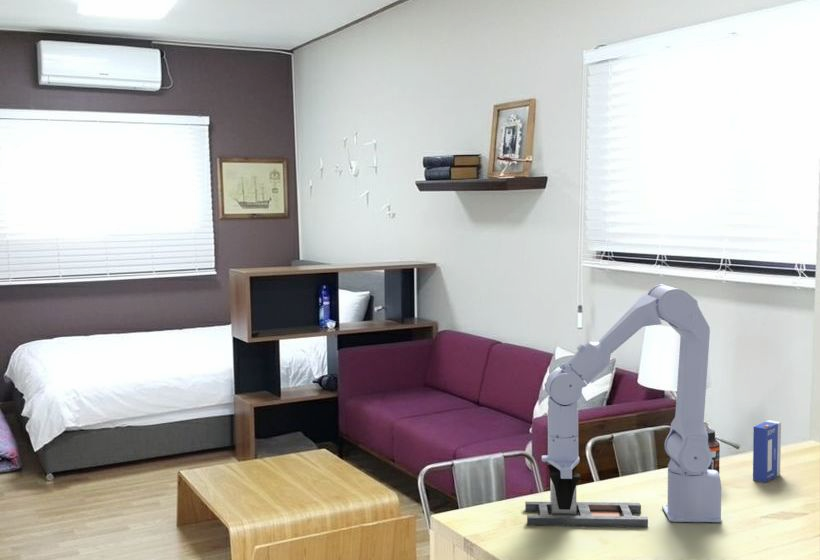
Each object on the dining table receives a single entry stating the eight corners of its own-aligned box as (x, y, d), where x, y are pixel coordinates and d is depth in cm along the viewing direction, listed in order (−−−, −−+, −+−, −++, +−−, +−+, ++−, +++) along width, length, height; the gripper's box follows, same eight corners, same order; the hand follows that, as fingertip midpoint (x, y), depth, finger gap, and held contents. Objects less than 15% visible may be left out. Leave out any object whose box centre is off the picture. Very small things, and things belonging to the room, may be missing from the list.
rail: (639, 510, 169) (639, 502, 169) (647, 527, 160) (647, 519, 160) (525, 508, 171) (525, 501, 171) (527, 525, 162) (527, 517, 162)
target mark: (618, 513, 168) (618, 511, 168) (622, 523, 163) (622, 521, 163) (589, 512, 168) (589, 511, 168) (593, 523, 163) (593, 521, 163)
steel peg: (574, 513, 168) (574, 473, 168) (576, 522, 164) (576, 480, 163) (550, 513, 169) (550, 472, 168) (552, 521, 164) (552, 480, 163)
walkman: (765, 483, 184) (766, 427, 183) (752, 480, 186) (753, 425, 185) (781, 474, 190) (782, 420, 189) (768, 471, 192) (769, 418, 191)
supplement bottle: (721, 487, 182) (721, 434, 181) (691, 486, 183) (691, 433, 182) (717, 478, 188) (717, 427, 187) (688, 477, 189) (688, 426, 188)
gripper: (539, 424, 172) (539, 491, 174) (544, 444, 158) (544, 517, 159) (575, 424, 172) (575, 491, 173) (583, 444, 157) (583, 518, 159)
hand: (563, 504), depth 166 cm, fingers closed on steel peg, 4 cm apart
